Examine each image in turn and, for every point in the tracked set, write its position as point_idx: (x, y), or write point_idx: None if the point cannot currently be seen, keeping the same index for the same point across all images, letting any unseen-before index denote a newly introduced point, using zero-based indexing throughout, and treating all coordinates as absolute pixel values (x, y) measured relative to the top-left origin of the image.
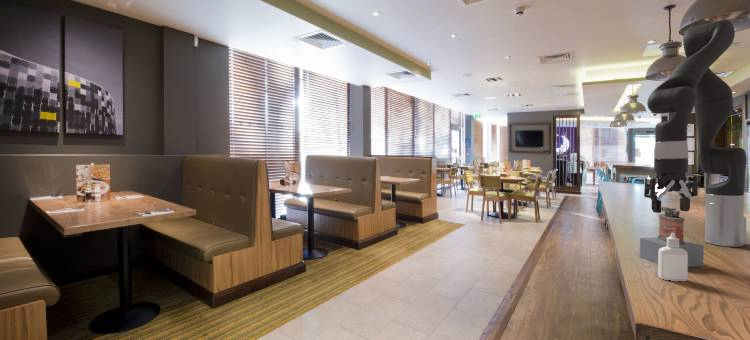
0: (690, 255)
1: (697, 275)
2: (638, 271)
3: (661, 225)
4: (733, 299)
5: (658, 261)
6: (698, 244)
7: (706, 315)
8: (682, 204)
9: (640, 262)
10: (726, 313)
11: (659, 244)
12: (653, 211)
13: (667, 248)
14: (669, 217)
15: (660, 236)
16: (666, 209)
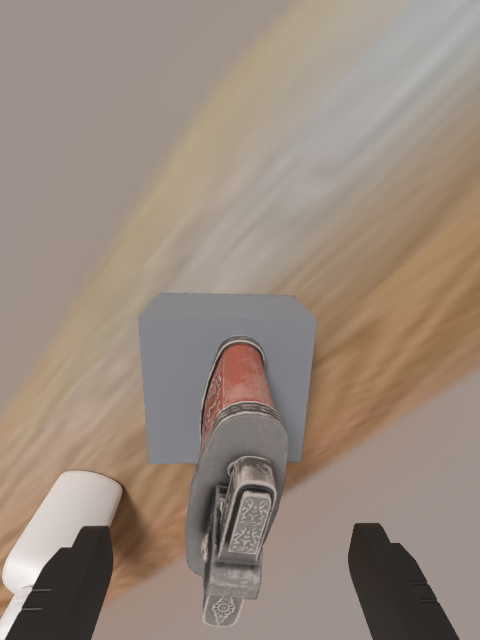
0: None
1: (187, 468)
2: (39, 425)
3: (211, 408)
4: (125, 579)
5: (33, 517)
6: (292, 451)
7: None
8: (380, 604)
9: (113, 349)
10: None
11: (146, 419)
12: (85, 529)
13: (13, 593)
14: (186, 533)
15: (218, 362)
16: (220, 537)
